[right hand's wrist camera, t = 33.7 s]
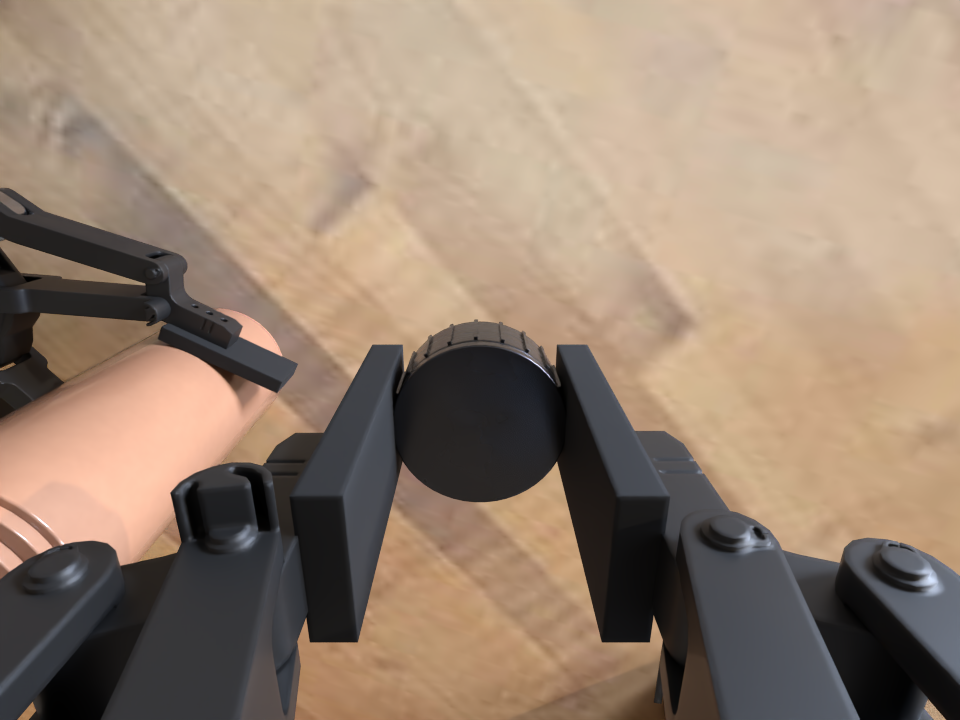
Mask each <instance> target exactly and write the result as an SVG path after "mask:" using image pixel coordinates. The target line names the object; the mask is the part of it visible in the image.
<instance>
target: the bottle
mask: <svg viewBox="0 0 960 720" xmlns="http://www.w3.org/2000/svg"><path fill="white" fill-rule="evenodd" d="M213 309H215V310H217V311H218V312H221V313H223V314H224V315H227V316H230V317H232V318H234V319H236V320H237V321H238V322H239V323H240V324H241V325H242V326H243V328H242V330H241V333H240V335H239V337H241V338H243V339H246V340H248V341H250V342H252V343H254V344H256V345H258V346H261V347H263V348H265V349H267V350H269V351H271V352H274V353H276V354H278V355H280V356H282V354H281V351H280V349H279V347H278V345H277V343H276V341H275V340H274V339H273V337H272V336H271V334H270V333H269V332H268V331H267V330H266V329H265V328H264V327H263V326H262V325H260V324H259V323H258V322H256V321H255V320H253V319H252V318H250V317H248V316H246V315H244V314H242V313H239V312H236V311H232V310H229V309H221V308H213ZM159 333H160V331H159V332H157V333H155V334H154V335H152V336H150V337H148V338H146V339H144V340H143V341H141V342H139V343H137V344H135V345H133V346H132V347H130V348H128V349H126V350H124V351H122V352H121V353H119V354H117V355H115V356H113V357H112V358H110V359H108V360H106V361H104V362H102V363H101V364H99V365H97V366H95V367H93V368H91V369H90V370H88V371H86V372H84V373H82V374H80V375H79V376H77V377H75V378H73V379H71V380H69V381H68V382H66V383H64V384H62V385H60V386H58V387H57V388H55V389H53V390H51V391H49V392H47V393H46V394H44V395H42V396H40V397H38V398H36V399H35V400H33V401H31V402H29V403H27V404H25V405H24V406H22V407H20V408H18V409H16V410H14V411H13V412H11V413H9V414H7V415H5V416H3V417H2V418H0V579H1V578H3V577H4V576H5V575H6V574H7V573H8V572H10V571H11V570H13V569H14V568H16V567H17V566H18V565H20V564H21V563H23V562H24V561H26V560H27V559H29V558H31V557H33V556H35V555H38V554H40V553H42V552H44V551H46V550H48V549H50V548H53V547H56V546H59V545H60V546H61V545H63V544H67V543H72V542H81V541H92V540H93V541H99V542H104V543H108V544H109V545H110V546H111V547H113V548H114V549H115V550H116V553H117V556H118V560H119V563H120V566H121V565H126V564H130V563H135V562H139V560H140V559H141V558H142V557H143V556H144V554H145V553H146V552H147V551H148V550H149V548H150V547H151V546H152V545H153V544H154V543H155V541H156V540H157V539H158V538H159V537H160V535H161V534H162V533H163V532H164V531H165V530H166V528H167V527H168V526H169V525H170V524H171V522H172V521H173V520H174V519H175V518H176V516H175V512H174V507H173V503H172V498H171V494H170V492H171V491H172V490H173V489H174V488H175V487H176V486H177V485H178V484H179V482H181V481H182V480H184V479H186V478H187V477H189V476H191V475H192V474H194V473H196V472H199V471H201V470H204V469H207V468H210V467H212V466H217V465H220V464H221V463H222V462H223V461H224V460H225V458H226V457H227V456H228V455H229V454H230V453H231V451H232V450H233V449H234V448H235V447H236V445H237V444H238V443H239V442H240V441H241V440H242V438H243V437H244V436H245V435H246V434H247V432H248V431H249V430H250V429H251V428H252V427H253V425H254V424H255V423H256V422H257V421H258V419H259V418H260V417H261V416H262V415H263V413H264V412H265V411H266V410H267V409H268V408H269V406H270V405H271V404H272V403H273V402H274V400H275V399H276V398H277V396H278V395H279V393H280V391H281V390H280V391H279V392H278V393H275V392H273V391H271V390H268V389H266V388H264V387H262V386H260V385H257V384H255V383H253V382H251V381H249V380H246V379H244V378H242V377H240V376H237V375H235V374H233V373H231V372H229V371H226V370H224V369H222V368H220V367H218V366H215V365H213V364H211V363H209V362H207V361H204V360H202V359H200V358H198V357H196V356H193V355H191V354H189V353H187V352H185V351H182V350H180V349H178V348H176V347H174V346H171V345H169V344H167V343H165V342H162V341H160V340H158V336H159Z"/></svg>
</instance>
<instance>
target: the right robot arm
mask: <svg viewBox="0 0 960 720" xmlns="http://www.w3.org/2000/svg"><path fill="white" fill-rule="evenodd" d="M403 371H404V361H403V345H372V347H371V348H370V350H369V352H368V354H367V356H366V358H365V359H364V361H363V363H362V365H361V367H360V368H359V370H358V372H357V374H356V376H355V378H354V379H353V381H352V383H351V385H350V387H349V388H348V390H347V392H346V394H345V396H344V398H343V399H342V401H341V403H340V405H339V407H338V408H337V410H336V412H335V414H334V416H333V418H332V419H331V421H330V423H329V425H328V427H327V429H326V430H325V432H324V433H295V434H293V435H292V436H290V437H289V438H287V439H286V440H284V441H283V442H281V443H280V444H278V445H277V446H276V447H275V449H274V450H273V452H272V453H271V454H270V456H269V457H268V459H267V462H266V463H264V465H263V466H261V465H257V464H253V463H228V464H222V465H217V466H212V467H210V468H207V469H204V470H201V471H199V472H196V473H194V474H192V475H191V476H189V477H187V478H186V479H184V480H182V481H181V482H179V484H178V485H177V486H176V487H175V488H174V489H173V490H172V491H171V492H170V494H171V498H172V503H173V507H174V512H175V516H176V520H177V525H178V529H179V533H180V538H181V542H182V543H181V545H180V547H179V550H178V552H177V553H174V554H171V555H167V556H163V557H159V558H154V559H149V560H145V561H140V562H135V563H130V564H126V565H121V566H120V563H119V560H118V556H117V553H116V550H115V549H114V548H113V547H111V546H110V545H109V544H108V543H104V542H99V541H93V540H92V541H81V542H72V543H67V544H63V545H61V546H60V545H59V546H56V547H53V548H50V549H48V550H46V551H44V552H42V553H40V554H38V555H35V556H33V557H31V558H29V559H27V560H26V561H24V562H23V563H21V564H20V565H18V566H17V567H16V568H14V569H13V570H11V571H10V572H8V573H7V574H6V575H5V576H4V577H3V578H1V579H0V720H17V719H18V718H19V717H20V716H21V714H22V713H23V712H24V711H25V710H26V709H27V707H28V706H29V705H30V704H31V703H32V702H33V704H34V706H35V709H36V712H35V713H34V714H33V715H32V717H31V718H30V719H29V720H294V718H295V710H296V701H297V693H298V684H299V676H300V667H301V665H300V658H299V651H298V644H297V640H298V638H299V635H300V632H301V630H302V627H303V624H304V621H305V619H306V618H307V625H308V632H309V639H310V642H358V639H359V635H360V631H361V627H362V623H363V619H364V615H365V611H366V607H367V603H368V599H369V594H370V590H371V586H372V582H373V578H374V574H375V570H376V566H377V562H378V558H379V554H380V550H381V546H382V542H383V538H384V534H385V530H386V526H387V522H388V518H389V514H390V510H391V506H392V502H393V498H394V493H395V489H396V485H397V481H398V477H399V473H400V469H401V465H402V461H403V460H402V459H401V457H400V455H399V453H398V450H397V448H396V445H395V437H394V420H393V410H394V406H395V402H396V399H397V396H395V393H396V390H397V387H398V385H399V382H400V379H401V376H402V373H403ZM556 371H557V374H558V377H559V380H560V383H561V386H562V389H561V393H562V397H563V399H564V402H565V407H566V431H565V444H564V447H563V450H562V452H561V454H560V456H559V458H558V460H557V463H558V467H559V471H560V475H561V479H562V483H563V487H564V491H565V495H566V499H567V503H568V507H569V511H570V515H571V519H572V523H573V527H574V531H575V535H576V539H577V543H578V547H579V552H580V556H581V560H582V564H583V568H584V572H585V576H586V580H587V584H588V588H589V592H590V596H591V600H592V604H593V608H594V612H595V616H596V620H597V624H598V628H599V632H600V636H601V640H602V642H650V637H651V630H652V622H653V615H654V617H655V620H656V622H657V625H658V628H659V630H660V633H661V636H662V638H663V644H662V651H661V657H660V664H659V670H658V677H657V683H656V690H655V698H654V703H660V704H661V703H662V697H663V700H664V713H665V719H666V720H933V719H932V717H931V716H930V715H929V714H928V713H927V711H926V710H925V709H924V707H925V705H926V702H927V700H928V699H929V700H930V701H931V703H932V704H933V705H934V706H935V707H936V708H937V710H938V711H939V712H940V713H941V714H942V715H943V716H944V718H945V719H946V720H960V576H959V575H958V574H957V573H955V572H954V571H953V570H952V569H950V568H949V567H947V566H946V565H945V564H943V563H942V562H940V561H939V560H937V559H936V558H934V557H933V556H931V555H929V554H926V553H924V552H922V551H920V550H918V549H916V548H914V547H912V546H910V545H907V544H903V543H898V542H896V541H891V540H886V539H875V538H864V539H858V540H853V541H852V542H850V543H849V544H848V545H847V546H846V547H845V548H844V551H843V554H842V558H841V562H840V563H837V562H832V561H827V560H822V559H818V558H813V557H808V556H803V555H798V554H795V553H791V552H787V551H784V550H782V549H781V547H780V544H779V542H778V541H777V539H776V538H775V537H774V536H773V534H772V533H771V532H770V530H768V529H767V528H766V527H764V526H763V525H761V524H760V523H758V522H757V521H756V520H754V519H751V518H749V517H747V516H744V515H742V514H739V513H737V512H732V511H729V509H728V508H727V506H726V505H725V503H724V502H723V500H722V499H721V498H720V496H719V495H718V493H717V492H716V490H715V489H714V487H713V486H712V485H711V483H710V482H709V480H708V479H707V477H706V476H705V474H702V470H701V469H700V467H699V466H698V464H697V463H696V461H693V457H692V456H691V454H690V453H689V451H688V450H687V448H686V447H685V445H684V444H683V443H681V442H680V441H678V440H677V439H675V438H674V437H672V436H671V435H669V434H668V433H666V432H665V431H634V429H633V427H632V426H631V424H630V422H629V420H628V418H627V417H626V415H625V413H624V411H623V409H622V407H621V406H620V404H619V402H618V400H617V398H616V396H615V395H614V393H613V391H612V389H611V387H610V386H609V384H608V382H607V380H606V378H605V376H604V375H603V373H602V371H601V369H600V367H599V366H598V364H597V362H596V360H595V358H594V356H593V355H592V353H591V351H590V349H589V347H588V346H587V345H557V354H556Z"/></svg>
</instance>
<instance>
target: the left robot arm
mask: <svg viewBox="0 0 960 720" xmlns="http://www.w3.org/2000/svg"><path fill="white" fill-rule="evenodd" d="M3 240H8V241H11V242H14V243H17V244H20V245H23V246H26V247H29V248H33V249H36V250H39V251H42V252H45V253H49V254H52V255H55V256H58V257H62V258H65V259H68V260H71V261H75V262H78V263H81V264H84V265H87V266H91V267H94V268H97V269H100V270H104V271H107V272H110V273H113V274H116V275H120V276H123V277H126V278H129V279H133V280H136V281H139V282H142V283H145V284H146V286H142V285H130V284H118V283H105V282H93V281H81V280H69V279H62V277H60V276H49V275H37V274H25V273H20V272H19V271H18V270H17V268H16V267H15V266H14V264H13V263H12V262H11V261H10V259H9V258H8V257H7V256H6V254H5V253H4V252H3V250H2V249H1V248H0V368H2V367H4V366H6V365H8V364H11V363H15V364H16V365H15V366H12V367H10V368H8V369H6V370H2V371H1V370H0V418H2V417H3V416H5V415H7V414H9V413H11V412H13V411H14V410H16V409H18V408H20V407H22V406H24V405H25V404H27V403H29V402H31V401H33V400H35V399H36V398H38V397H40V396H42V395H44V394H46V393H47V392H49V391H51V390H53V389H55V388H57V387H58V386H60V385H62V384H64V382H63V381H61V380H60V379H59V378H58V377H57V376H56V375H54V374H53V373H52V372H51V371H50V370H49V369H48V368H47V363H48V362H47V360H46V359H45V357H44V356H42V355H41V354H40V353H39V352H38V351H37V350H35V349H34V348H33V347H32V343H33V329H32V327H33V325H34V324H35V322H36V321H37V319H38V318H39V316H40V313H49V314H62V315H74V316H87V317H99V318H112V319H124V320H137V321H149V323H147V324H146V326H151V325H153V324H155V323H157V322H159V321H163V322H166V323H168V324H166V325H164V326H162V327H161V330H160V333H159V336H158V340H160V341H162V342H165V343H167V344H169V345H171V346H174V347H176V348H178V349H180V350H182V351H185V352H187V353H189V354H191V355H193V356H196V357H198V358H200V359H202V360H204V361H207V362H209V363H211V364H213V365H215V366H218V367H220V368H222V369H224V370H226V371H229V372H231V373H233V374H235V375H237V376H240V377H242V378H244V379H246V380H249V381H251V382H253V383H255V384H257V385H260V386H262V387H264V388H266V389H268V390H271V391H273V392H275V393H278V392H279V391H280V390H281V388H282V387H283V386H284V385H285V384H286V383H287V381H288V380H289V379H290V378H291V377H292V376H293V374H294V372H295V370H296V367H297V365H298V364H297V363H295V362H293V361H291V360H289V359H286V358H284V357H282V356H280V355H278V354H276V353H274V352H271V351H269V350H267V349H265V348H263V347H261V346H258V345H256V344H254V343H252V342H250V341H248V340H246V339H243V338H241V337H239V335H240V333H241V330H242V328H243V326H242V325H241V324H240V323H239V322H238V321H237V320H236V319H234V318H232V317H230V316H227V315H224V314H223V313H221V312H218V311H217V310H215V309H213V308H210V307H208V306H206V305H204V304H202V303H200V302H198V301H195V300H194V299H192V298H190V297H189V296H188V295H187V293H186V292H185V289H184V283H183V274H184V273H185V272H186V270H187V262H186V260H185V259H184V258H183V257H182V256H181V255H179V254H177V253H173V252H170V251H167V250H164V249H161V248H158V247H155V246H151V245H148V244H145V243H142V242H139V241H136V240H133V239H129V238H126V237H123V236H120V235H117V234H114V233H111V232H107V231H104V230H101V229H98V228H95V227H92V226H88V225H85V224H82V223H79V222H76V221H73V220H70V219H66V218H63V217H60V216H57V215H54V214H51V213H48V212H44V211H43V210H41V209H40V208H38V207H37V206H36V205H34V204H33V203H31V202H30V201H28V200H27V199H25V198H24V197H22V196H21V195H19V194H18V193H16V192H15V191H13V190H11V189H9V188H0V241H3Z"/></svg>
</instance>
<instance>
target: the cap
mask: <svg viewBox="0 0 960 720" xmlns="http://www.w3.org/2000/svg"><path fill="white" fill-rule="evenodd" d="M561 389H562V386H561V383H560V380H559V377H558V374H557V371H556V368H555V366H554V365H551V363H550V361H549V359H548V358H547V356H546V355H545V352H544V349H543V347H542V346H540V347H539V346H538V345H537V344H536V343H535V342H534V341H533V340H531V339H530V338H529V337H527V336H526V333H525V332H524V331H522V332H519V331H517V330H515V329H513V328H511V327H508V326H505V325H503V323H502V322H499V324H497V323H491V322H478V320H474V322H469V323H462V324H458V325H455V326H454V325H453V324H451V325H450V327H449V328H447V329H444V330H442V331H441V332H439V333H437V334H435V335H434V336H432V335H430V336H429V337H428V340H427V341H426V342H425V343H424V344H423V345H422V346H421V347H420V348H419V349H418V350H417V352H415V351H414V352H413V353H412V356H411V359H410V362H409V365H408V367H407V370H406V372H404V371H403V373H402V376H401V379H400V382H399V385H398V387H397V390H396V393H395V396H397V399H396V402H395V406H394V410H393V420H394V437H395V445H396V448H397V450H398V453H399V455H400V457H401V459H402V460H403V462H404V464H405V465H406V466H407V468H408V469H409V470H410V472H411V473H412V474H413V475H414V476H415V477H416V478H417V479H418V480H420V481H421V482H422V483H423V484H424V485H426V486H427V487H429V488H431V489H432V490H434V491H436V492H438V493H440V494H442V495H445V496H447V497H450V498H453V499H457V500H462V501H469V502H491V501H498V500H502V499H507V498H510V497H512V496H515V495H518V494H520V493H522V492H524V491H526V490H528V489H529V488H531V487H532V486H534V485H535V484H537V483H538V482H539V481H540V480H541V479H543V478H544V477H545V476H546V475H547V473H548V472H549V471H550V470H551V469H552V467H553V466H554V465H555V463H556V462H557V460H558V458H559V456H560V454H561V452H562V450H563V447H564V444H565V431H566V407H565V402H564V399H563V397H562V393H561Z"/></svg>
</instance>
